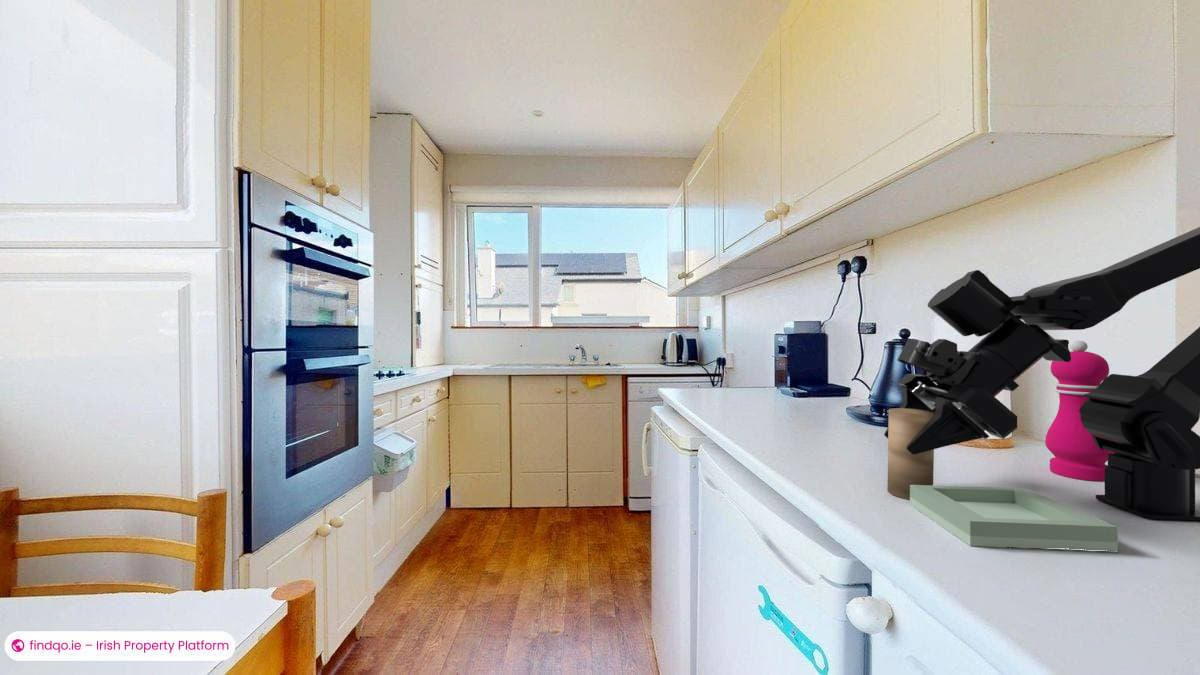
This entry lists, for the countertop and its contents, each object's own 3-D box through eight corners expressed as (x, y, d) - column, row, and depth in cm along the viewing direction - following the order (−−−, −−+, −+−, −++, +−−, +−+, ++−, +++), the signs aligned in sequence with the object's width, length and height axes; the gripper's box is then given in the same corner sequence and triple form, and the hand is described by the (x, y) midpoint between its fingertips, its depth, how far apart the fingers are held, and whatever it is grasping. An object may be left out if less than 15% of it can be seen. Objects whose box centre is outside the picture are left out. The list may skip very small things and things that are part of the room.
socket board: (1026, 508, 55) (1025, 488, 55) (1117, 552, 44) (1117, 526, 44) (910, 504, 56) (909, 484, 56) (970, 545, 45) (970, 521, 45)
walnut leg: (918, 487, 62) (919, 408, 62) (942, 501, 57) (943, 415, 57) (880, 486, 63) (881, 407, 63) (900, 500, 58) (901, 414, 58)
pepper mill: (1082, 468, 70) (1082, 340, 70) (1132, 483, 63) (1132, 340, 63) (1032, 467, 71) (1031, 340, 71) (1075, 482, 64) (1075, 341, 64)
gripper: (912, 320, 68) (832, 391, 71) (983, 315, 50) (872, 412, 53) (974, 372, 66) (889, 444, 69) (1071, 388, 48) (951, 484, 51)
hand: (897, 444), depth 60 cm, fingers open, 7 cm apart
